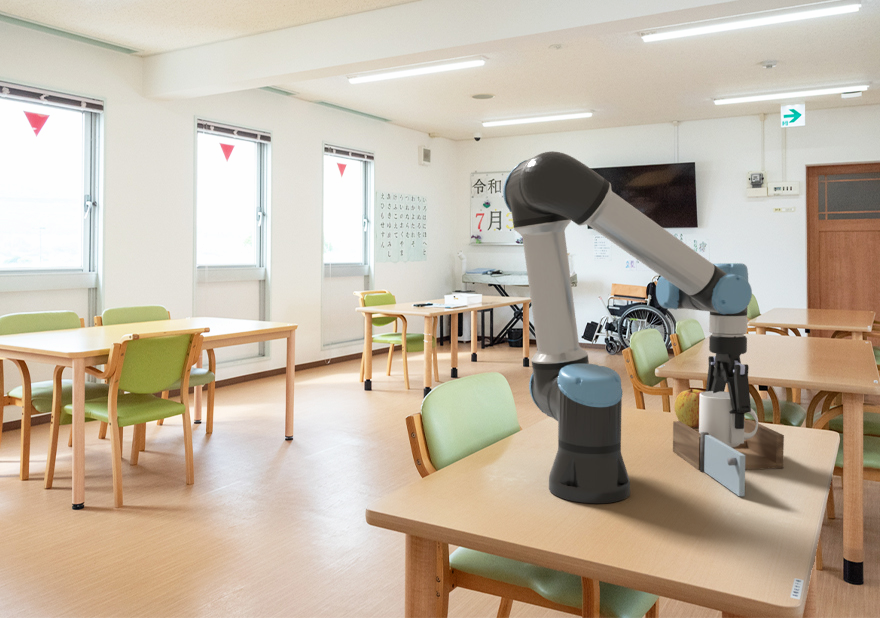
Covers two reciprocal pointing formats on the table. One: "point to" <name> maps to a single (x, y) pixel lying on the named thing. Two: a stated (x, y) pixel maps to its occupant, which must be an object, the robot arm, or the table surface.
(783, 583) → the table surface
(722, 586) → the table surface
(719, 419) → the mug
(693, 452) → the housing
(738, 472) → the door
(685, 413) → the apple
